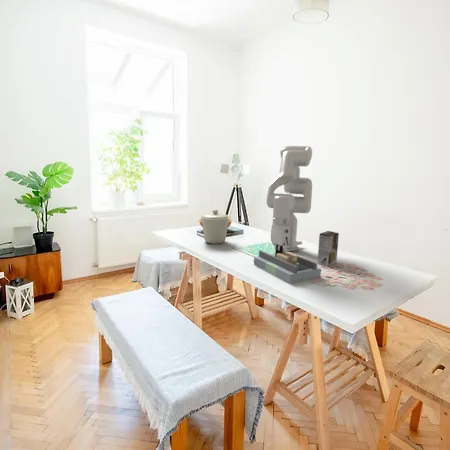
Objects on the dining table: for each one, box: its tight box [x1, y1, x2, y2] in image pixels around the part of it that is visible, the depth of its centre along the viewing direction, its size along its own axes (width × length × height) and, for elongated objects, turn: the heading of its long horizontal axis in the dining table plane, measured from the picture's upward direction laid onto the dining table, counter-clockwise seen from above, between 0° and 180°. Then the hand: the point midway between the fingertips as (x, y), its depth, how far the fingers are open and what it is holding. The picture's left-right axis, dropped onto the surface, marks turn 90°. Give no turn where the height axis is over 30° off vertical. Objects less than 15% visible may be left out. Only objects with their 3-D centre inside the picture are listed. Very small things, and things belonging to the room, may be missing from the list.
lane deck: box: [253, 250, 322, 284], centre depth 155 cm, size 18×28×7 cm, turn 28°
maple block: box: [276, 251, 297, 265], centre depth 154 cm, size 7×7×4 cm
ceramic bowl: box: [198, 218, 232, 229], centre depth 239 cm, size 30×24×8 cm
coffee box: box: [316, 230, 339, 267], centre depth 166 cm, size 9×6×16 cm
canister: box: [200, 209, 230, 245], centre depth 204 cm, size 18×18×21 cm
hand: (278, 257), depth 159 cm, fingers closed
